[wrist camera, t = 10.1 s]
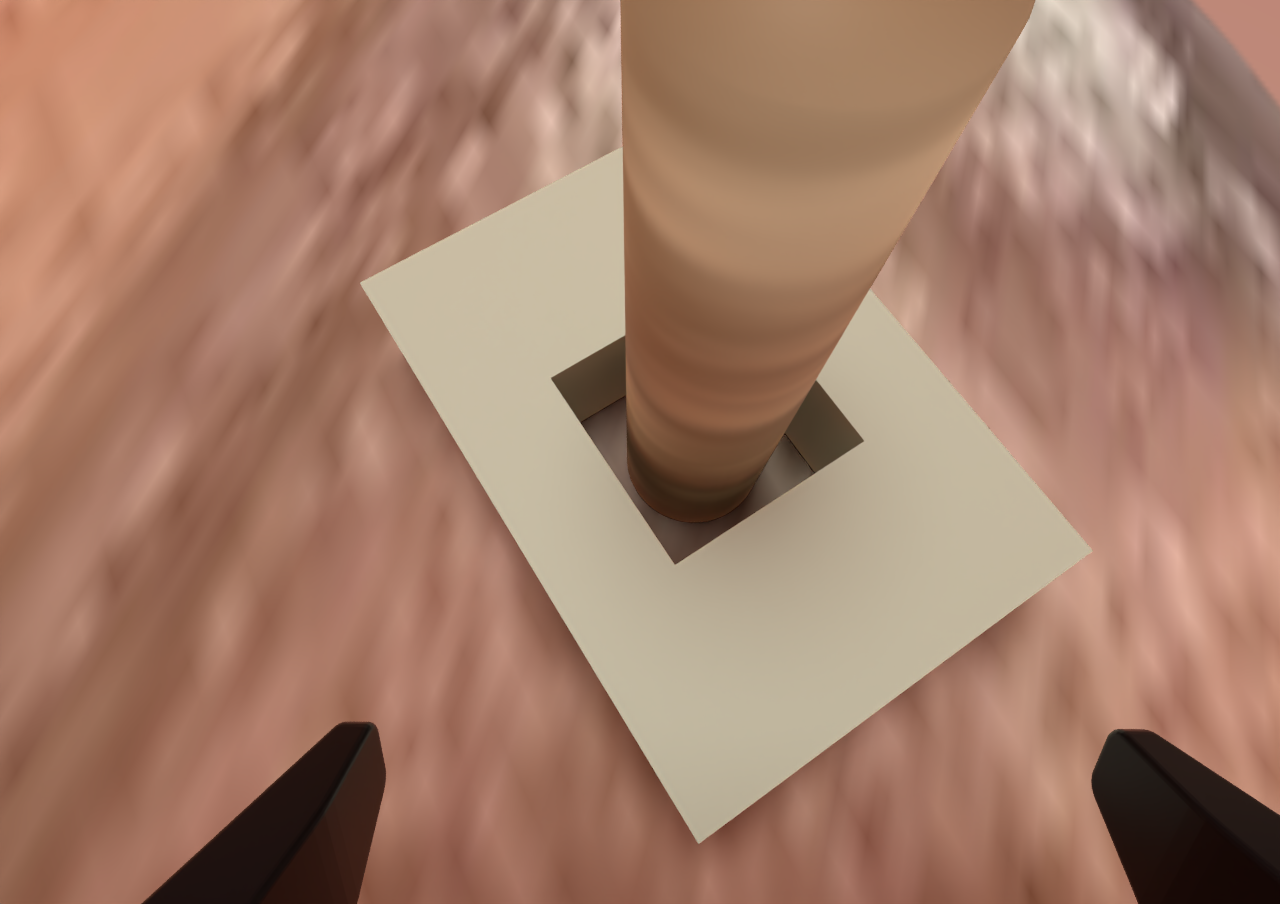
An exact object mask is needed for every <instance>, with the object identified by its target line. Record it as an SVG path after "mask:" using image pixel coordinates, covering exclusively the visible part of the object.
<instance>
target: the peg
mask: <svg viewBox="0 0 1280 904" xmlns="http://www.w3.org/2000/svg"><path fill="white" fill-rule="evenodd" d="M1034 3H1035V0H621V69H622V138H623V207H624V275H625V344H626V413H627V464H628V471H629V475H630V478H631V481H632V483H633V485H634V487H635V489H636V491H637V492H638V494H639V495H640V496H641V498H642V499H643V500H644V501H645V502H646V503H647V504H648V505H649V506H650V507H652V508H653V509H654V510H656V511H657V512H659V513H661V514H662V515H664V516H667V517H669V518H671V519H675V520H678V521H684V522H705V521H710V520H714V519H717V518H719V517H722V516H724V515H726V514H728V513H729V512H731V511H732V510H734V509H735V508H736V507H738V506H739V505H740V504H741V503H742V502H743V500H744V499H745V498H746V497H747V495H748V494H749V492H750V490H751V489H752V487H753V485H754V484H755V482H756V480H757V479H758V477H759V475H760V474H761V472H762V470H763V468H764V467H765V465H766V463H767V462H768V460H769V458H770V457H771V455H772V453H773V452H774V450H775V448H776V446H777V445H778V443H779V441H780V440H781V438H782V436H783V435H784V433H785V431H786V430H787V428H788V426H789V425H790V423H791V421H792V419H793V418H794V416H795V414H796V413H797V411H798V409H799V408H800V406H801V404H802V403H803V401H804V399H805V397H806V396H807V394H808V392H809V391H810V389H811V387H812V386H813V384H814V382H815V381H816V379H817V377H818V375H819V374H820V372H821V370H822V369H823V367H824V365H825V364H826V362H827V360H828V359H829V357H830V355H831V353H832V352H833V350H834V348H835V347H836V345H837V343H838V342H839V340H840V338H841V337H842V335H843V333H844V332H845V330H846V328H847V326H848V325H849V323H850V321H851V320H852V318H853V316H854V315H855V313H856V311H857V310H858V308H859V306H860V304H861V303H862V301H863V299H864V298H865V296H866V294H867V293H868V291H869V289H870V288H871V286H872V284H873V282H874V281H875V279H876V277H877V276H878V274H879V272H880V271H881V269H882V267H883V266H884V264H885V262H886V260H887V259H888V257H889V255H890V254H891V252H892V250H893V249H894V247H895V245H896V244H897V242H898V240H899V239H900V237H901V235H902V233H903V232H904V230H905V228H906V227H907V225H908V223H909V222H910V220H911V218H912V217H913V215H914V213H915V211H916V210H917V208H918V206H919V205H920V203H921V201H922V200H923V198H924V196H925V195H926V193H927V191H928V189H929V188H930V186H931V184H932V183H933V181H934V179H935V178H936V176H937V174H938V173H939V171H940V169H941V167H942V166H943V164H944V162H945V161H946V159H947V157H948V156H949V154H950V152H951V151H952V149H953V147H954V146H955V144H956V142H957V140H958V139H959V137H960V135H961V134H962V132H963V130H964V129H965V127H966V125H967V124H968V122H969V120H970V118H971V117H972V115H973V113H974V112H975V110H976V108H977V107H978V105H979V103H980V102H981V100H982V98H983V96H984V95H985V93H986V91H987V90H988V88H989V86H990V85H991V83H992V81H993V80H994V78H995V76H996V74H997V73H998V71H999V69H1000V68H1001V66H1002V64H1003V63H1004V61H1005V59H1006V58H1007V56H1008V54H1009V53H1010V51H1011V49H1012V47H1013V46H1014V44H1015V42H1016V41H1017V39H1018V37H1019V36H1020V34H1021V32H1022V30H1023V28H1024V27H1025V25H1026V23H1027V21H1028V19H1029V17H1030V14H1031V12H1032V9H1033V6H1034Z"/></svg>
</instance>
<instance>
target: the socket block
mask: <svg viewBox="0 0 1280 904" xmlns="http://www.w3.org/2000/svg"><path fill="white" fill-rule="evenodd" d="M360 284H361V286H362V287H363V289H364V291H365V292H366V294H367V295H368V297H369V299H370V300H371V302H372V304H373V305H374V307H375V309H376V310H377V312H378V314H379V315H380V317H381V319H382V320H383V322H384V324H385V325H386V327H387V329H388V330H389V332H390V334H391V335H392V337H393V339H394V340H395V342H396V344H397V345H398V347H399V349H400V350H401V352H402V353H403V355H404V357H405V358H406V360H407V362H408V363H409V365H410V367H411V368H412V370H413V372H414V373H415V375H416V377H417V378H418V380H419V382H420V383H421V385H422V387H423V388H424V390H425V392H426V393H427V395H428V397H429V398H430V400H431V402H432V403H433V405H434V407H435V408H436V410H437V411H438V413H439V415H440V416H441V418H442V420H443V421H444V423H445V425H446V426H447V428H448V430H449V431H450V433H451V435H452V436H453V438H454V440H455V441H456V443H457V445H458V446H459V448H460V450H461V451H462V453H463V455H464V456H465V458H466V460H467V461H468V463H469V465H470V466H471V468H472V469H473V471H474V473H475V474H476V476H477V478H478V479H479V481H480V483H481V484H482V486H483V488H484V489H485V491H486V493H487V494H488V496H489V498H490V499H491V501H492V503H493V504H494V506H495V508H496V509H497V511H498V513H499V514H500V516H501V518H502V519H503V521H504V523H505V524H506V526H507V527H508V529H509V531H510V532H511V534H512V536H513V537H514V539H515V541H516V542H517V544H518V546H519V547H520V549H521V551H522V552H523V554H524V556H525V557H526V559H527V561H528V562H529V564H530V566H531V567H532V569H533V571H534V572H535V574H536V576H537V577H538V579H539V581H540V582H541V584H542V585H543V587H544V589H545V590H546V592H547V594H548V595H549V597H550V599H551V600H552V602H553V604H554V605H555V607H556V609H557V610H558V612H559V614H560V615H561V617H562V619H563V620H564V622H565V624H566V625H567V627H568V629H569V630H570V632H571V634H572V635H573V637H574V639H575V640H576V642H577V643H578V645H579V647H580V648H581V650H582V652H583V653H584V655H585V657H586V658H587V660H588V662H589V663H590V665H591V667H592V668H593V670H594V672H595V673H596V675H597V677H598V678H599V680H600V682H601V683H602V685H603V687H604V688H605V690H606V692H607V693H608V695H609V697H610V698H611V700H612V701H613V703H614V705H615V706H616V708H617V710H618V711H619V713H620V715H621V716H622V718H623V720H624V721H625V723H626V725H627V726H628V728H629V730H630V731H631V733H632V735H633V736H634V738H635V740H636V741H637V743H638V745H639V746H640V748H641V750H642V751H643V753H644V755H645V756H646V758H647V759H648V761H649V763H650V764H651V766H652V768H653V769H654V771H655V773H656V774H657V776H658V778H659V779H660V781H661V783H662V784H663V786H664V788H665V789H666V791H667V793H668V794H669V796H670V798H671V799H672V801H673V803H674V804H675V806H676V808H677V809H678V811H679V813H680V814H681V816H682V817H683V819H684V821H685V822H686V824H687V826H688V827H689V829H690V831H691V832H692V834H693V836H694V837H695V839H696V841H697V842H698V844H699V843H701V842H702V841H703V840H705V839H706V838H707V837H709V836H710V835H711V834H713V833H714V832H715V831H717V830H718V829H720V828H721V827H722V826H724V825H725V824H726V823H728V822H729V821H730V820H732V819H733V818H734V817H736V816H737V815H738V814H740V813H741V812H742V811H744V810H745V809H746V808H748V807H749V806H750V805H752V804H753V803H754V802H756V801H757V800H759V799H760V798H761V797H763V796H764V795H765V794H767V793H768V792H769V791H771V790H772V789H773V788H775V787H776V786H777V785H779V784H780V783H781V782H783V781H784V780H785V779H787V778H788V777H789V776H791V775H792V774H793V773H795V772H796V771H798V770H799V769H800V768H802V767H803V766H804V765H806V764H807V763H808V762H810V761H811V760H812V759H814V758H815V757H816V756H818V755H819V754H820V753H822V752H823V751H824V750H826V749H827V748H828V747H830V746H831V745H832V744H834V743H835V742H836V741H838V740H839V739H841V738H842V737H843V736H845V735H846V734H847V733H849V732H850V731H851V730H853V729H854V728H855V727H857V726H858V725H859V724H861V723H862V722H863V721H865V720H866V719H867V718H869V717H870V716H871V715H873V714H874V713H875V712H877V711H878V710H880V709H881V708H882V707H884V706H885V705H886V704H888V703H889V702H890V701H892V700H893V699H894V698H896V697H897V696H898V695H900V694H901V693H902V692H904V691H905V690H906V689H908V688H909V687H910V686H912V685H913V684H914V683H916V682H917V681H919V680H920V679H921V678H923V677H924V676H925V675H927V674H928V673H929V672H931V671H932V670H933V669H935V668H936V667H937V666H939V665H940V664H941V663H943V662H944V661H945V660H947V659H948V658H949V657H951V656H952V655H953V654H955V653H956V652H958V651H959V650H960V649H962V648H963V647H964V646H966V645H967V644H968V643H970V642H971V641H972V640H974V639H975V638H976V637H978V636H979V635H980V634H982V633H983V632H984V631H986V630H987V629H988V628H990V627H991V626H992V625H994V624H995V623H997V622H998V621H999V620H1001V619H1002V618H1003V617H1005V616H1006V615H1007V614H1009V613H1010V612H1011V611H1013V610H1014V609H1015V608H1017V607H1018V606H1019V605H1021V604H1022V603H1023V602H1025V601H1026V600H1027V599H1029V598H1030V597H1031V596H1033V595H1034V594H1036V593H1037V592H1038V591H1040V590H1041V589H1042V588H1044V587H1045V586H1046V585H1048V584H1049V583H1050V582H1052V581H1053V580H1054V579H1056V578H1057V577H1058V576H1060V575H1061V574H1062V573H1064V572H1065V571H1066V570H1068V569H1069V568H1070V567H1072V566H1073V565H1075V564H1076V563H1077V562H1079V561H1080V560H1081V559H1083V558H1084V557H1085V556H1087V555H1088V554H1089V553H1091V552H1092V551H1093V550H1092V549H1091V548H1090V547H1089V546H1088V544H1087V543H1086V542H1085V541H1084V540H1083V539H1082V537H1081V536H1080V535H1079V534H1078V533H1077V531H1076V530H1075V529H1074V528H1073V527H1072V526H1071V524H1070V523H1069V522H1068V521H1067V520H1066V518H1065V517H1064V516H1063V515H1062V514H1061V513H1060V511H1059V510H1058V509H1057V508H1056V507H1055V506H1054V504H1053V503H1052V502H1051V501H1050V500H1049V498H1048V497H1047V496H1046V495H1045V494H1044V493H1043V491H1042V490H1041V489H1040V488H1039V487H1038V486H1037V484H1036V483H1035V482H1034V481H1033V480H1032V478H1031V477H1030V476H1029V475H1028V474H1027V473H1026V471H1025V470H1024V469H1023V468H1022V467H1021V466H1020V464H1019V463H1018V462H1017V461H1016V460H1015V458H1014V457H1013V456H1012V455H1011V454H1010V453H1009V451H1008V450H1007V449H1006V448H1005V447H1004V446H1003V444H1002V443H1001V442H1000V441H999V440H998V438H997V437H996V436H995V435H994V434H993V433H992V431H991V430H990V429H989V428H988V427H987V426H986V424H985V423H984V422H983V421H982V420H981V418H980V417H979V416H978V415H977V414H976V413H975V411H974V410H973V409H972V408H971V407H970V406H969V404H968V403H967V402H966V401H965V400H964V398H963V397H962V396H961V395H960V394H959V393H958V391H957V390H956V389H955V388H954V387H953V386H952V384H951V383H950V382H949V381H948V380H947V378H946V377H945V376H944V375H943V374H942V373H941V371H940V370H939V369H938V368H937V367H936V366H935V364H934V363H933V362H932V361H931V360H930V358H929V357H928V356H927V355H926V354H925V353H924V351H923V350H922V349H921V348H920V347H919V346H918V344H917V343H916V342H915V341H914V340H913V338H912V337H911V336H910V335H909V334H908V333H907V331H906V330H905V329H904V328H903V327H902V326H901V324H900V323H899V322H898V321H897V320H896V318H895V317H894V316H893V315H892V314H891V313H890V311H889V310H888V309H887V308H886V307H885V306H884V304H883V303H882V302H881V301H880V300H879V298H878V297H877V296H876V295H875V294H874V293H873V291H872V290H871V289H869V291H868V293H867V294H866V296H865V298H864V299H863V301H862V303H861V304H860V306H859V308H858V310H857V311H856V313H855V315H854V316H853V318H852V320H851V321H850V323H849V325H848V326H847V328H846V330H845V332H844V333H843V335H842V337H841V338H840V340H839V342H838V343H837V345H836V347H835V348H834V350H833V352H832V353H831V355H830V357H829V359H828V360H827V362H826V364H825V365H824V367H823V369H822V370H821V372H820V374H819V375H818V377H817V379H816V381H815V382H814V384H813V386H812V387H811V389H810V391H809V392H808V394H807V396H806V397H805V399H804V401H803V403H802V404H801V406H800V408H799V409H798V411H797V413H796V414H795V416H794V418H793V419H792V421H791V423H790V425H789V426H788V428H787V430H786V431H785V434H786V435H787V436H788V438H789V439H790V440H791V442H792V443H793V444H794V446H795V447H796V448H797V450H798V451H799V452H800V454H801V455H802V456H803V458H804V459H805V460H806V462H807V463H808V464H809V466H810V467H811V468H812V470H813V471H814V472H815V474H813V475H812V476H810V477H809V478H807V479H806V480H804V481H803V482H801V483H800V484H798V485H797V486H795V487H793V488H792V489H790V490H789V491H787V492H786V493H784V494H783V495H781V496H780V497H778V498H777V499H775V500H774V501H772V502H771V503H769V504H767V505H766V506H764V507H763V508H761V509H760V510H758V511H757V512H755V513H754V514H752V515H751V516H749V517H748V518H746V519H745V520H743V521H741V522H740V523H738V524H737V525H735V526H734V527H732V528H731V529H729V530H728V531H726V532H725V533H723V534H722V535H720V536H719V537H717V538H715V539H714V540H712V541H711V542H709V543H708V544H706V545H705V546H703V547H702V548H700V549H699V550H697V551H696V552H694V553H692V554H691V555H689V556H688V557H686V558H685V559H683V560H682V561H680V562H679V563H677V564H676V565H675V564H674V563H673V561H672V560H671V558H670V557H669V555H668V554H667V552H666V551H665V549H664V548H663V546H662V545H661V543H660V542H659V540H658V539H657V537H656V536H655V534H654V533H653V531H652V530H651V528H650V527H649V525H648V524H647V522H646V521H645V519H644V518H643V516H642V515H641V513H640V512H639V510H638V509H637V507H636V506H635V504H634V503H633V501H632V500H631V498H630V497H629V495H628V494H627V492H626V491H625V489H624V488H623V486H622V485H621V483H620V482H619V480H618V479H617V477H616V476H615V474H614V473H613V471H612V470H611V468H610V467H609V465H608V464H607V462H606V461H605V459H604V458H603V456H602V455H601V453H600V452H599V450H598V449H597V447H596V446H595V444H594V443H593V441H592V440H591V438H590V437H589V435H588V434H587V432H586V431H585V429H584V428H583V426H582V425H581V423H580V422H581V421H583V420H585V419H586V418H588V417H590V416H592V415H593V414H595V413H597V412H598V411H600V410H602V409H603V408H605V407H607V406H608V405H610V404H612V403H613V402H615V401H617V400H618V399H620V398H622V397H624V396H625V395H626V344H625V275H624V207H623V147H621V148H619V149H617V150H615V151H613V152H611V153H609V154H607V155H605V156H603V157H601V158H599V159H597V160H596V161H594V162H592V163H590V164H588V165H586V166H584V167H582V168H580V169H578V170H576V171H574V172H572V173H570V174H569V175H567V176H565V177H563V178H561V179H559V180H557V181H555V182H553V183H551V184H549V185H547V186H545V187H543V188H542V189H540V190H538V191H536V192H534V193H532V194H530V195H528V196H526V197H524V198H522V199H520V200H518V201H516V202H515V203H513V204H511V205H509V206H507V207H505V208H503V209H501V210H499V211H497V212H495V213H493V214H491V215H489V216H488V217H486V218H484V219H482V220H480V221H478V222H476V223H474V224H472V225H470V226H468V227H466V228H464V229H462V230H461V231H459V232H457V233H455V234H453V235H451V236H449V237H447V238H445V239H443V240H441V241H439V242H437V243H435V244H434V245H432V246H430V247H428V248H426V249H424V250H422V251H420V252H418V253H416V254H414V255H412V256H410V257H408V258H407V259H405V260H403V261H401V262H399V263H397V264H395V265H393V266H391V267H389V268H387V269H385V270H383V271H381V272H380V273H378V274H376V275H374V276H372V277H370V278H368V279H366V280H364V281H362V282H360Z"/></svg>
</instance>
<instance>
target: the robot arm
mask: <svg viewBox="0 0 1280 904" xmlns="http://www.w3.org/2000/svg"><path fill="white" fill-rule="evenodd" d="M385 781H386V768H385V763H384V758H383V753H382V748H381V742H380V737H379V732H378V729H377V727H376V725H375V724H374V723H371V722H342V723H340V724H338V725H336V726H335V727H334V728H333V729H332V730H331V731H330V732H329V733H327V734H326V735H325V736H324V737H323V738H322V739H321V740H320V741H319V742H318V743H317V744H315V745H314V746H313V747H312V748H311V749H310V750H309V751H308V752H307V753H306V754H304V755H303V756H302V757H301V758H300V759H299V760H298V761H297V762H296V763H295V764H294V765H292V766H291V767H290V768H289V769H288V770H287V771H286V772H285V773H284V774H283V775H282V776H280V777H279V778H278V779H277V780H276V781H275V782H274V783H273V784H272V785H271V786H270V787H268V788H267V789H266V790H265V791H264V792H263V793H262V794H261V795H260V796H259V797H258V798H256V799H255V800H254V801H253V802H252V803H251V804H250V805H249V806H248V807H247V808H246V809H244V810H243V811H242V812H241V813H240V814H239V815H238V816H237V817H236V818H235V819H234V820H232V821H231V822H230V823H229V824H228V825H227V826H226V827H225V828H224V829H223V830H222V831H220V832H219V833H218V834H217V835H216V836H215V837H214V838H213V839H212V840H211V841H210V842H208V843H207V844H206V845H205V846H204V847H203V848H202V849H201V850H200V851H199V852H198V853H196V854H195V855H194V856H193V857H192V858H191V859H190V860H189V861H188V862H187V863H186V864H184V865H183V866H182V867H181V868H180V869H179V870H178V871H177V872H176V873H175V874H174V875H172V876H171V877H170V878H169V879H168V880H167V881H166V882H165V883H164V884H163V885H162V886H160V887H159V888H158V889H157V890H156V891H155V892H154V893H153V894H152V895H151V896H150V897H148V898H147V899H146V900H145V901H144V902H143V903H142V904H357V902H358V898H359V894H360V889H361V885H362V881H363V877H364V873H365V868H366V864H367V860H368V856H369V852H370V847H371V843H372V839H373V835H374V831H375V826H376V822H377V818H378V814H379V810H380V805H381V801H382V797H383V793H384V788H385ZM1091 782H1092V790H1093V794H1094V797H1095V800H1096V802H1097V805H1098V807H1099V809H1100V812H1101V814H1102V817H1103V819H1104V822H1105V824H1106V826H1107V829H1108V831H1109V834H1110V836H1111V839H1112V841H1113V843H1114V846H1115V848H1116V851H1117V853H1118V856H1119V858H1120V860H1121V863H1122V865H1123V868H1124V870H1125V873H1126V875H1127V877H1128V880H1129V882H1130V885H1131V887H1132V890H1133V892H1134V894H1135V897H1136V899H1137V902H1138V904H1280V815H1279V814H1277V813H1276V812H1274V811H1273V810H1271V809H1269V808H1268V807H1266V806H1265V805H1263V804H1262V803H1260V802H1259V801H1257V800H1256V799H1254V798H1253V797H1251V796H1250V795H1248V794H1247V793H1245V792H1244V791H1242V790H1241V789H1239V788H1238V787H1236V786H1235V785H1233V784H1232V783H1230V782H1229V781H1227V780H1226V779H1224V778H1222V777H1221V776H1219V775H1218V774H1216V773H1215V772H1213V771H1212V770H1210V769H1209V768H1207V767H1206V766H1204V765H1203V764H1201V763H1200V762H1198V761H1197V760H1195V759H1194V758H1192V757H1191V756H1189V755H1188V754H1186V753H1185V752H1183V751H1182V750H1180V749H1179V748H1177V747H1176V746H1174V745H1172V744H1171V743H1169V742H1168V741H1166V740H1165V739H1163V738H1162V737H1160V736H1159V735H1157V734H1155V733H1154V732H1151V731H1149V730H1144V729H1117V730H1114V731H1112V732H1111V733H1110V734H1109V735H1108V737H1107V739H1106V742H1105V744H1104V746H1103V749H1102V751H1101V754H1100V756H1099V758H1098V761H1097V763H1096V766H1095V768H1094V770H1093V773H1092V780H1091Z"/></svg>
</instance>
